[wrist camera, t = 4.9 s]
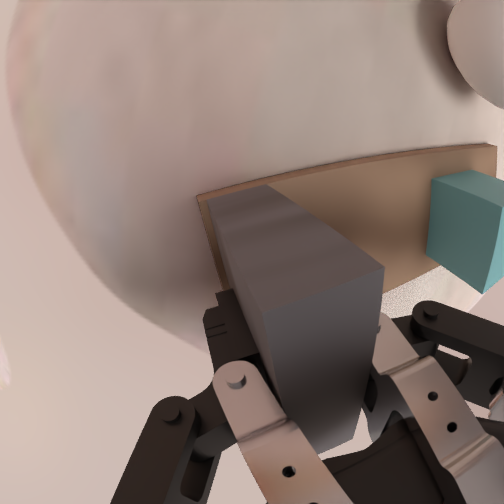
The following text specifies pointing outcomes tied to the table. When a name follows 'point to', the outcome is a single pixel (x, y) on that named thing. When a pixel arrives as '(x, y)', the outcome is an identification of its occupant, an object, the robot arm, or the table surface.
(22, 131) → the table surface
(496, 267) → the teal block
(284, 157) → the table surface
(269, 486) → the robot arm
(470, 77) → the ball
